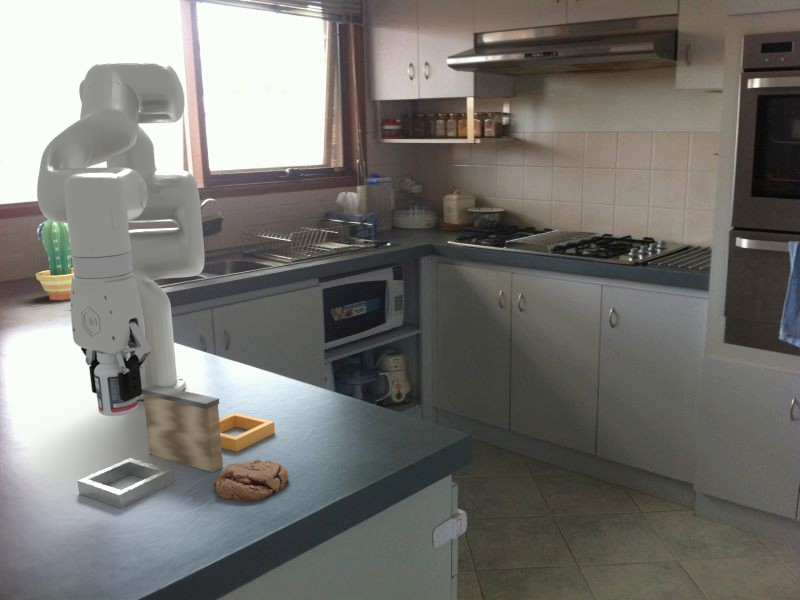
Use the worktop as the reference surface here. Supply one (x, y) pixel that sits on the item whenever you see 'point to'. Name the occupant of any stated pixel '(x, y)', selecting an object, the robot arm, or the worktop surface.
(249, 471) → the cookie
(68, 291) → the potted cactus
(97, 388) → the pill bottle
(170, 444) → the beige brown upright block
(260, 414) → the worktop surface
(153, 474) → the collar
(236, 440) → the collar
